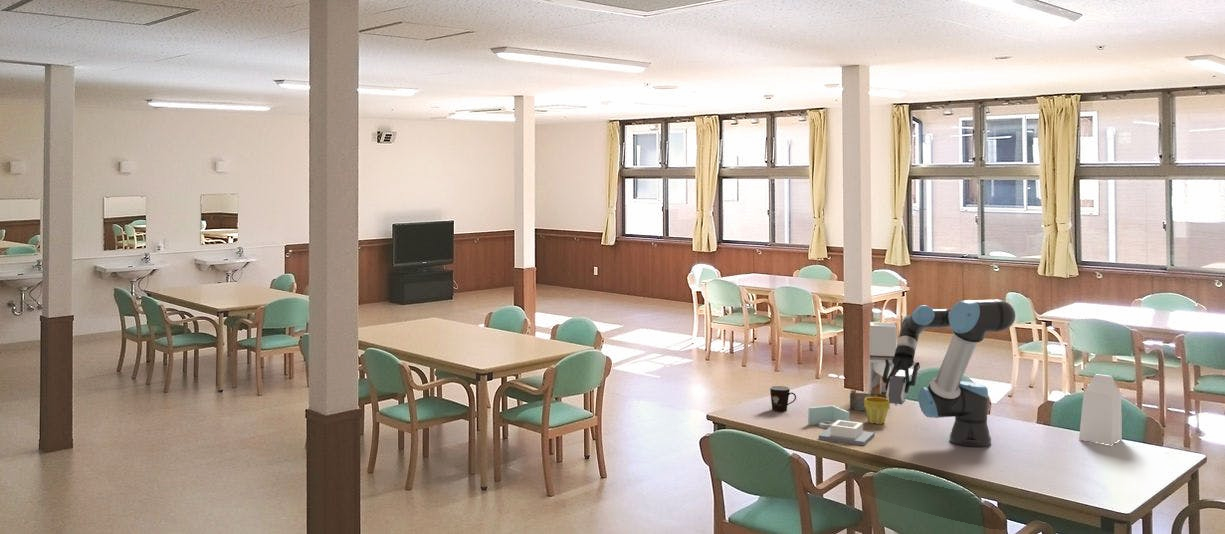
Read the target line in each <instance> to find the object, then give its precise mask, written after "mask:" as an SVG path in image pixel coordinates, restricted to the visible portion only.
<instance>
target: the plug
mask: <svg viewBox="0 0 1225 534" xmlns="http://www.w3.org/2000/svg"><path fill="white" fill-rule="evenodd" d="M904 383H906V377H905V376H902V375H901V376H900V375H895V376H891V377H890V381H889V403H890V404H893V405H894V406H895V407H897V406H898V405H903V404H904V403H905V402H906V396H905V397H904V401H902V400H901V393H902V389H903V385H904Z"/></svg>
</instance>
